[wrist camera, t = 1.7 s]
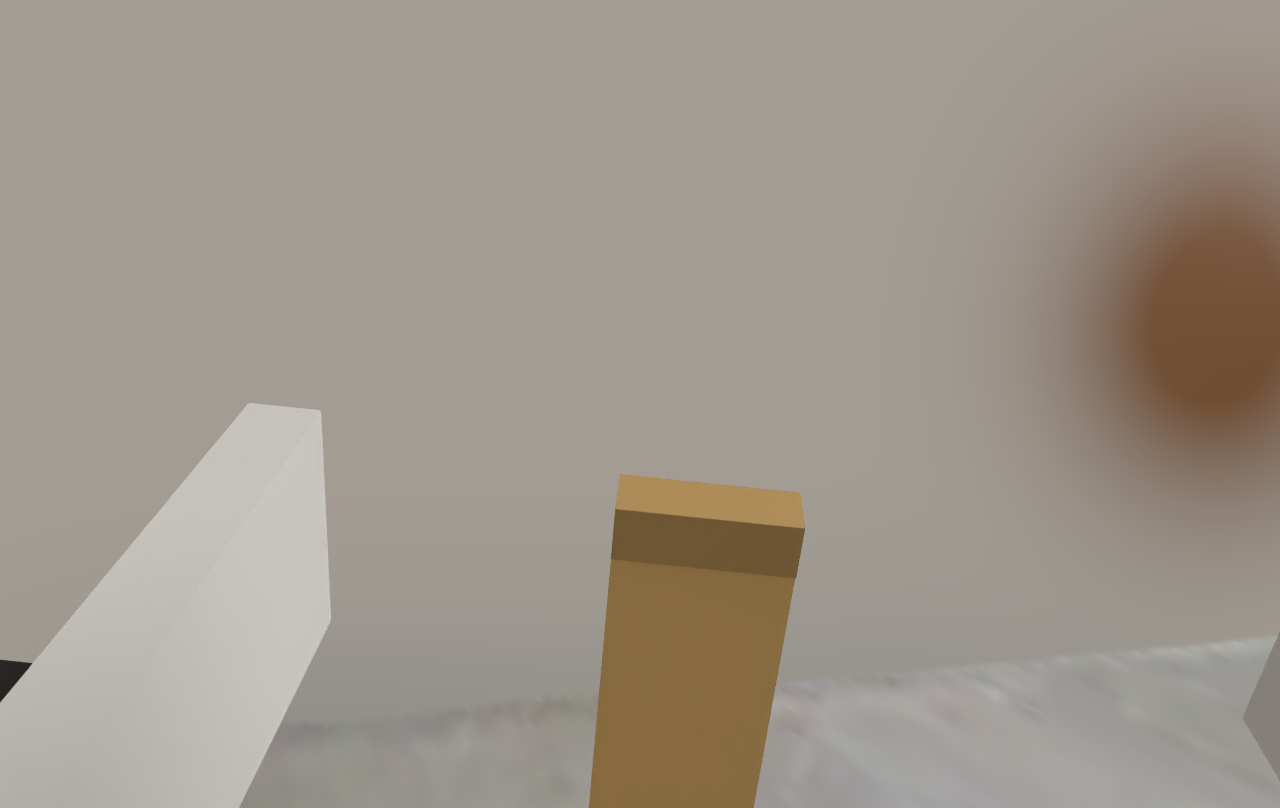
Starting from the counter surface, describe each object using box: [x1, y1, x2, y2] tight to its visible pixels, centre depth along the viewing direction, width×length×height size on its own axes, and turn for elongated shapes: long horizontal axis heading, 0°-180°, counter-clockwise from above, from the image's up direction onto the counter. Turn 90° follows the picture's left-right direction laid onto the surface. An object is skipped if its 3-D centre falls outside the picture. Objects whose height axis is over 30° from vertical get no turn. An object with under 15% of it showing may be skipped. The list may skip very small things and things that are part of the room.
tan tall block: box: [589, 474, 805, 808], centre depth 34 cm, size 5×2×18 cm, turn 87°
